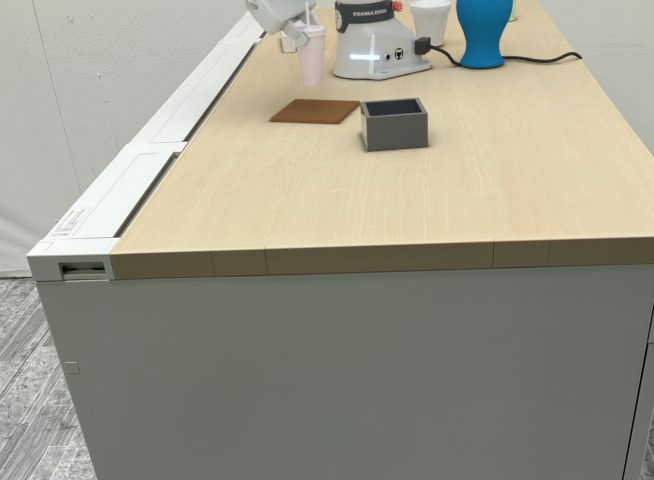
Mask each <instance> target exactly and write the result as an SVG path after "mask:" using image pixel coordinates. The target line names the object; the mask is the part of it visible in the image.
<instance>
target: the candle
mask: <svg viewBox="0 0 654 480" xmlns="http://www.w3.org/2000/svg"><path fill="white" fill-rule="evenodd" d="M516 11H517V0H513V8H512V13H511V16H510V19H509V21H508V22H513V21H515V20H516Z"/></svg>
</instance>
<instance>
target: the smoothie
mask: <svg viewBox="0 0 654 480" xmlns="http://www.w3.org/2000/svg"><path fill="white" fill-rule="evenodd" d="M305 8H306V22H307V25H303V26H298V27H297V28H298V29H299V30H300V31H301V32H303V31H304V32H305V34H306V35H307V36H308V37H309V41H308V42H307V44H306V45H305V46H303V47H301V46H300V45H299V44H298V43H297V42H296V45H297V48H296V49H297V56H298V61H299V65H300V71H301V77H302V82H303V86H305V87H319V86H322V85H323V84H324V65H325V64H324V63H325V45H326V35H327V33H328V32H327V27H326V25H322V24H318V25H310V22H309V8H308V2H305Z"/></svg>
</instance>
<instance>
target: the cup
mask: <svg viewBox="0 0 654 480" xmlns="http://www.w3.org/2000/svg"><path fill="white" fill-rule="evenodd" d="M451 8H452V2H451V1H450V0H416V1H413V2H411V3H410V4H409V9H410V13H411V14H412V18H413V25H414V30H415V35H416V36H417V37H418V39H419V38H421V37H431V45H433V46H436V47H439V48H441V47H442V46H443V44H444V39H445V33H446V29H447V24H448V19H449V14H450V11H451Z"/></svg>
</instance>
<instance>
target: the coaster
mask: <svg viewBox="0 0 654 480" xmlns="http://www.w3.org/2000/svg"><path fill="white" fill-rule="evenodd" d="M360 102H361V101H360V100H346V99H345V100H344V99H343V100H342V99H340V100H339V99H308V98H295V99H293V100H292V101H291V102H290V103H288V104H287V105H285V106H284V107H282V109H281V110H279V111H278V112H276V113H275V114H274V115H272V116H271V117H270V122H282V123H283V122H284V123H309V124H310V123H311V124H334V125H335V124H337V125H339V124H340V123H341V122H342V121H343V120H345V119H346V118H347V116H349V115H350V114H351V113H352V112H353V111H354V110H356V108H357V107H358V106H359V105H360Z"/></svg>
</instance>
